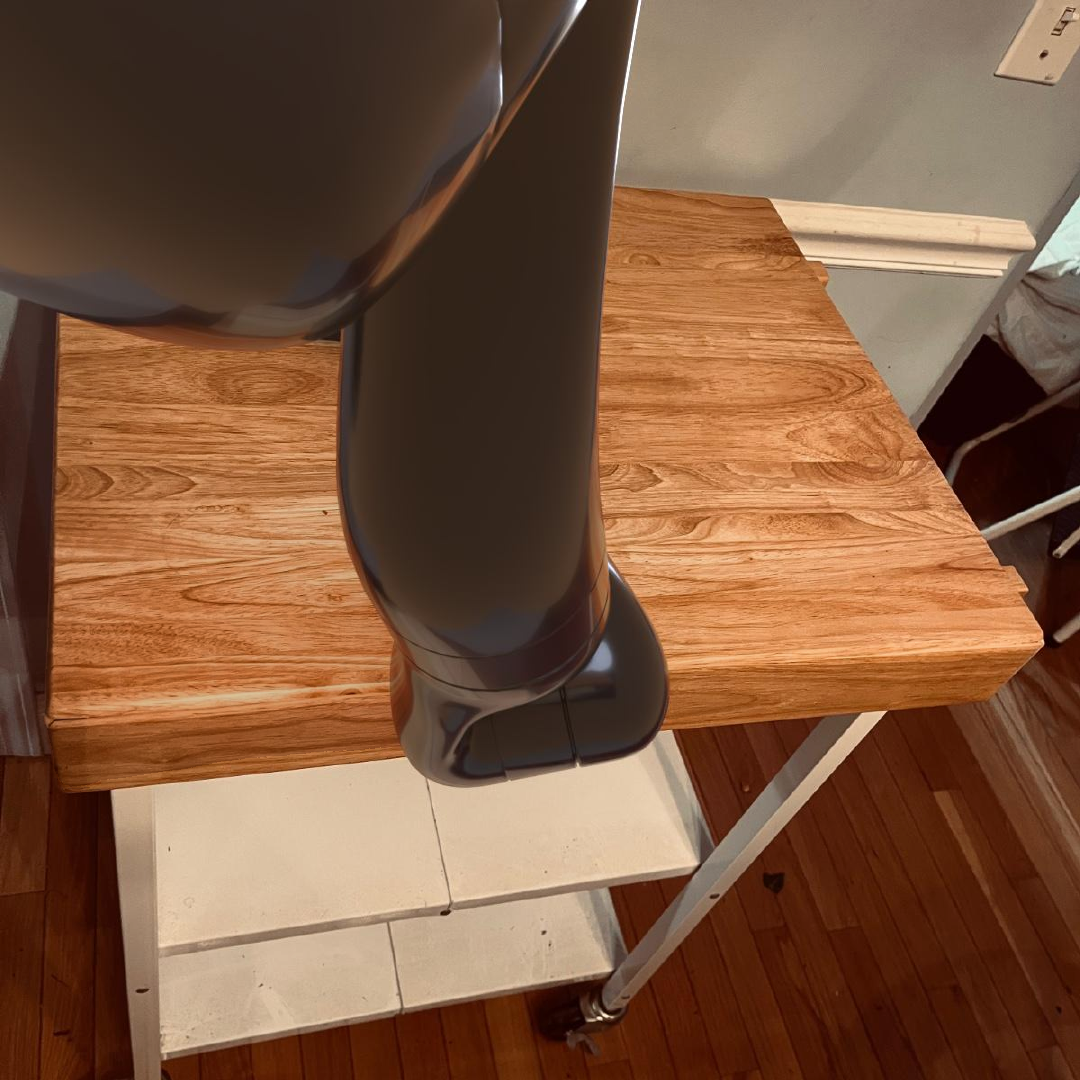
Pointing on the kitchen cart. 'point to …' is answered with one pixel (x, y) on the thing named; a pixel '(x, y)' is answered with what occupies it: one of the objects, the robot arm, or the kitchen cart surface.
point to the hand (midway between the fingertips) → (451, 199)
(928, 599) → the kitchen cart surface
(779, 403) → the kitchen cart surface
